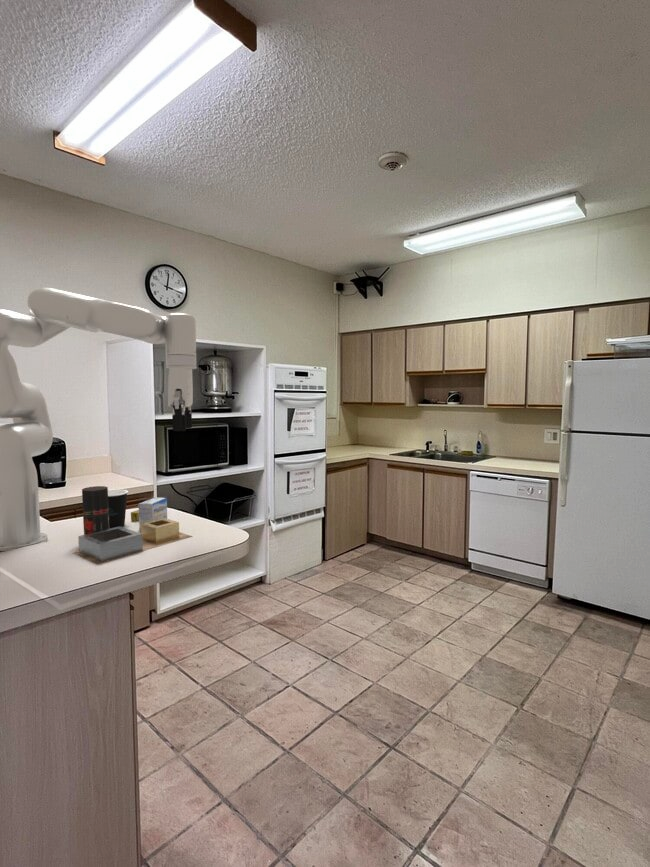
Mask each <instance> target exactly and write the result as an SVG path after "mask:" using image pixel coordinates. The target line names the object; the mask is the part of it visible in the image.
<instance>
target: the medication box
mask: <svg viewBox="0 0 650 867" xmlns="http://www.w3.org/2000/svg"><path fill="white" fill-rule="evenodd" d="M130 521H131V523H133V522H138V523H139V509H138V510H134V511H130Z"/></svg>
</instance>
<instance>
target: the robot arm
mask: <svg viewBox="0 0 650 867" xmlns="http://www.w3.org/2000/svg"><path fill="white" fill-rule="evenodd" d="M27 307H28V310H29V311H30V312H29V313H27V314H24V313H21V312H18V311H14V310H10V309H9V310H8V309H4V308H0V419H2V420H3V419H4V420H5V419H12V421H13V422H12V423H6V424H3V425H0V552H8V551H9V552H10V551H12V550H13V551H14V550H17V549H20V548H25V547H30V546H34V545H37V544H38V545H39V544H42V543H46V542H47V541H48V539H49V538H48V534H46V533H44V532H41V519H40V518H41V517H40V516H41V515H40V499H39V498H40V495H39V494H40V493H39V479H38V472H37V468H36V465H35V463H34V461H33V457H37V456H41V455H42V454H45V453H46V452H48V451H49V450H50V448H51V446H52V444H53V440H54V436H53V435H54V434H53V429H52V425H51V419H50V415H49V412H48V411H49V410H48V405H47V402H46V398H45V396H44V395H43V392H42V391H41V390H40V389H39V388H38V387H37V386H35V385H34V384H33V383H29V382H24V381H21V379H20V376H19V372H18V368H17V363H16V361H15V359H14V357H13V355H12V354H11V352H10V351H9V348H8V346H16V347H21V348H35V347H38V346H41V345H42V344H45V343H46V342H48V341H50V340H51V339H53V338H54V337H56V336H58V335H60V334H61V333H64V332H65V331H67V330H68V329H70V328H73V329H78V330H82V331H85V332H86V331H87V332H91V333H98V332H99V333H100V332H103V333H108V334H113V335H118V336H121V337H125V338H129V339H134V340H136V341H137V340H138V341H142V342H145V343H147V344H151V345H152V344H153V345H159V344H165V369H167V370H168V380H167V383H168V384H167V406H168V407H169V408H172V416H171V417H172V423H171V424H172V431H173V432H186V431H187V429H191V428H193V416H192V415H193V413H192V408H191V407H192V406H193V403H194V402H193V400H194V391H193V388H194V387H193V386H194V385H193V370H196V369H197V368H198V367H197V333H196V332H197V329H196V328H197V327H196V326H197V324H196V319H195V317H194V315H192V314H190V313H189V314H188V313H183V312H175V313H174V312H172V313H168V314H167V315H166V316H163V315H160V314H157V313H154V312H152V311H151V310H148V309H145V308H141V307H138V306H134V305H128V304H125V303H119V302H116V301H112V300H111V301H110V300H105V299H102V298H97V297H91V296H87V295H85V294H84V295H83V294H79V293H74V292H71V291H66V290H61V289H57V288H53V287H37V288H35V289H33V290H32V291H31V292H30V293H29V294H28V297H27Z"/></svg>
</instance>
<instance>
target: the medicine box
mask: <svg viewBox="0 0 650 867" xmlns="http://www.w3.org/2000/svg"><path fill="white" fill-rule="evenodd" d="M137 506H138V510H139V521H138V525H139V530H140V531H141V523H145V522H149V521H153V520H157V519H161V518H166V519H168V498H166V497H152V498H149V499H148V500H147V499H146V500H145V501H143V502H139V503H138V505H137Z"/></svg>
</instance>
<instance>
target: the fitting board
mask: <svg viewBox="0 0 650 867" xmlns="http://www.w3.org/2000/svg"><path fill="white" fill-rule="evenodd" d="M192 537H194V536H193V535H189V534H187V533H184V532H180V531H179V537H177V538H173V539H170V540H166V541H163V542H159V543H153V542H150V541H148V540H145V539H142V541H143V550H140V551H137V552H133V553H130V554H126V555H123V556H120V557H116V558H113V559H109V560H106V561H102V562H100V561H97V560H95V559H93V558H91V557H89V556H86V555H84V554H82V553H80V552H79V550H78V551H75V552H72V554H74V555H76V556H77V557H80V558H82V559H84V560H86V561H89V562H90V563H93V564H95V565H99V564H100V565H101V564H104V563H107V562H110V561H113V560H117V559H120V558H124V557H127V556H130V555H134V554H138V553H141V552H144V551H147V550H151V549H156V548H158V547H162V546H164V545H168V544H172V543H175V542H178V541H183V540H185V539H190V538H192Z"/></svg>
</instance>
